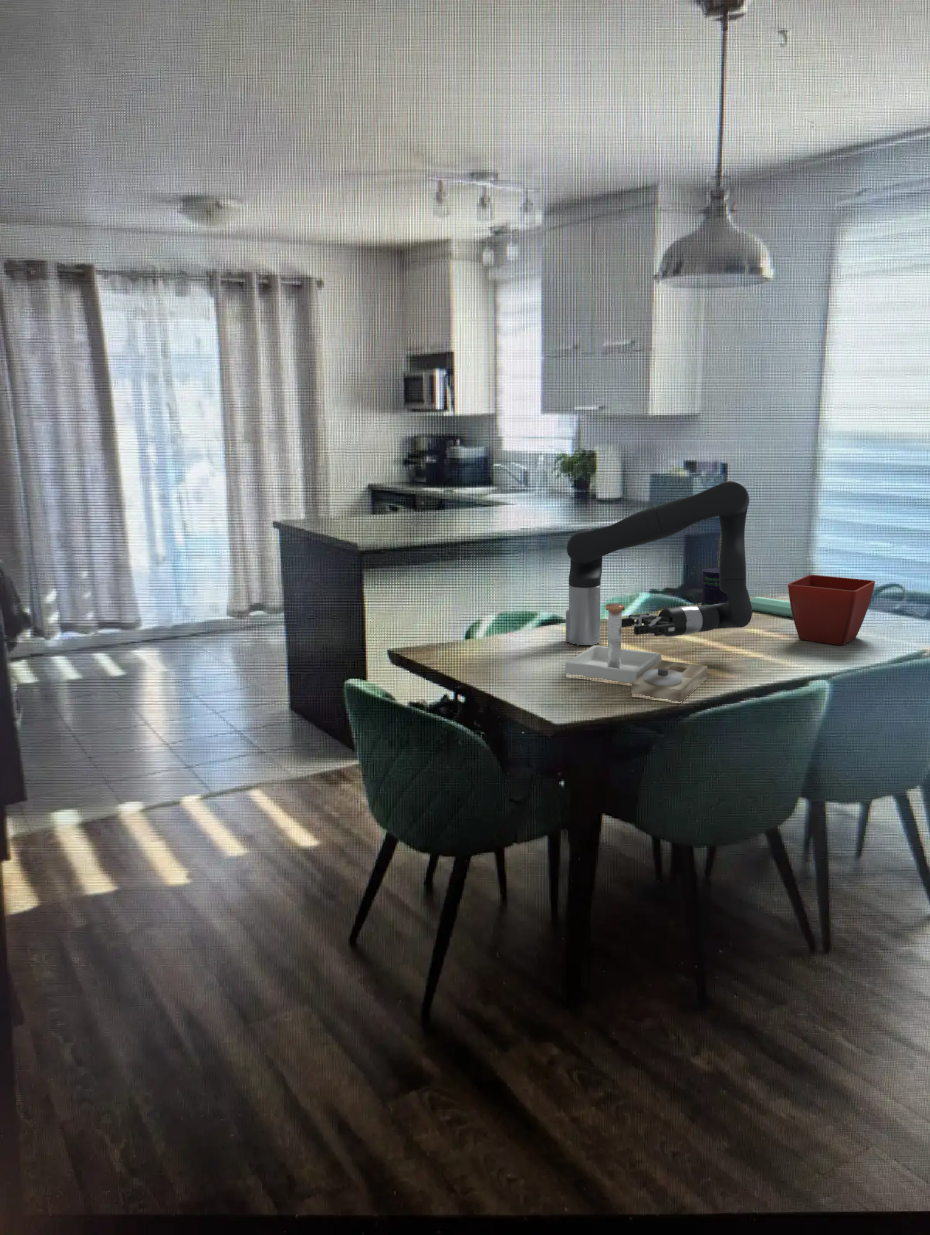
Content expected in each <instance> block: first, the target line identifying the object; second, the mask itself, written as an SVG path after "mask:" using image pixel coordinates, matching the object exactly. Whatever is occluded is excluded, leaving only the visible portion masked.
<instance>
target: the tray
mask: <svg viewBox="0 0 930 1235" xmlns="http://www.w3.org/2000/svg"><path fill="white" fill-rule="evenodd" d="M661 660H662V653H660V652H653V651H645V650H637V649H628V648H627V649H626V648H621V669H618V668H611V667H608V646H602V645H597V644H596V645H591V647H589V648H587V649H586V650H584V651H583V652H581V653H579V654H577V655H576V656H574V657H572V658H571V659H569V660H567V661H565V674H566V673H569V674H577V675H583V676H587V677H598V678H603V679H607V680H612V681H619V682H623V683H630V684H632V682H634V681H635V680H636V679H638V678H639V677H640V676H641V675H643V674H644V672H646V671H648V670H649V669H651V668H652V667H653V666H654V665H656V664H657V663H658V662H660V661H661Z"/></svg>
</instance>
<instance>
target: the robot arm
mask: <svg viewBox="0 0 930 1235" xmlns="http://www.w3.org/2000/svg"><path fill="white" fill-rule="evenodd" d="M749 505H750V495H749V492H748V489H747V488H746V486H745V485H744V484H743V483H741V482H739V481H736V480H726V481H723V482H720V483H718V484H717V485H715V486H714V485H713V486H712V487H709V488H707V489H705V490H702V491H700V492H698V493H696V494H693V495H691V496H686V497H683V498H682V497H681V498H678V499H675V500H671V501H668V502H664V503H661V504H657V505H655V506H651V507H649V508H645V509H643V510H640V511H637V512H635V513H633V514H630V515H629V516H626V517H625V518H623V519H621V520H619V521H617V522H615V523H612V524H611V525H608V526H604V527H600V528H595V529H591V528H582V529H579V530H577V531H576V532H574V534H572V535H571V536H570V538H569V539H568V542H567V545H566V553H567V556H568V557H569V559H570V567H569V574H568V609H567V610H565V611H566V612H565V643H566V642H570V643H574V644H578V645H577V646H579V645H591V646H593V645H592V644H596V645H598V644H597V643H599V644H600V643H601V590H602V588H601V584H602V583H601V582H602V572H603V557H604V556H606V555H609V554H611V553H614V552H616V551H619V550H624V549H629V548H633V547H637V546H640V545H641V546H642V545H645V544H648V543H652V542H655V541H659V540H661V539H665V538H668V537H670V536H673V535H675V534H679V533H680V532H681V531H683V530H685V529H687V528H689V527H691V526H693V525H695V524H696V523H699V522H701V521H702V522H703V521H705V520H709V519H712V518H716V517H719V518H718V519H719V524H720V537H721V538H720V549H719V564H718V567H719V586H720V590H721V591H722V592H724V593H726V594H727V596H728V601H729V602H727V603H720V604H714V605H701V604H700V605H693V606H691V605H683V606H675V607H674V606H673V607H666V608H663V609H661V610H660V611H659V614H658V615H657V614H650V613H649V612H648V613H638V614H637V613H636V614H629V615H628V617H626V618H622V628H629V627H630V628H631V627H632V628H633V635H636V636H641V635H647V634H648V635H650V636H651V635H653V636H654V637H658V636H660V637H661V636H665V637H675V636H676V637H677V636H684V635H691V634H695V633H703V632H709V631H713V630H719V629H735V628H736V629H740V628H745V627H747V626H748V625H749V624H750V622H751V621H752V617H753V610H752V605H751V598H750V595H749V594H750V592H749V590H748V588H747V562H746V560H747V558H746V545H745V544H746V543H745V536H746V535H745V534H746V533H745V532H746V521H747V514H748V508H749ZM570 643H569V644H570Z"/></svg>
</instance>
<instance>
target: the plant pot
mask: <svg viewBox="0 0 930 1235" xmlns="http://www.w3.org/2000/svg"><path fill="white" fill-rule="evenodd" d="M875 585H876V581H875V580H871V579H863V578H851V577H841V576H832V575H831V576H830V575H819V574H817V575H816V574H808V575H805V576H803V577H801V578H799V579H796V580H794V581H791V582H790V583H788V584H787V588H788V589H787V590H788V597H789V601H790V606H791V611H792V616H793V617H792V619H793V623H794V627H795V630H796V633H797V636H798V639H799V640H803V641H808V642H809V641H810V642H815V643H816V642H817V643H825V644H831V645H839V646H843V645H845V644H848V643H849V642H850V641H852V640H854V639H855V638H857V636H858V634H859V632H860V629H861V628H862V625H863V623H864V621H865V618H866V615H867V613H868V609H869V606H870V604H871V600H872V598H873V597H872V596H873V592H874V589H875Z"/></svg>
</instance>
